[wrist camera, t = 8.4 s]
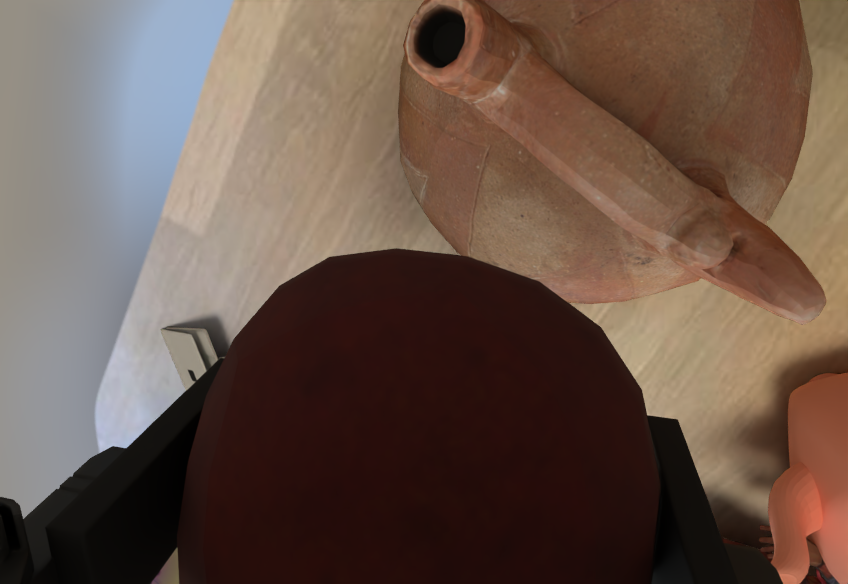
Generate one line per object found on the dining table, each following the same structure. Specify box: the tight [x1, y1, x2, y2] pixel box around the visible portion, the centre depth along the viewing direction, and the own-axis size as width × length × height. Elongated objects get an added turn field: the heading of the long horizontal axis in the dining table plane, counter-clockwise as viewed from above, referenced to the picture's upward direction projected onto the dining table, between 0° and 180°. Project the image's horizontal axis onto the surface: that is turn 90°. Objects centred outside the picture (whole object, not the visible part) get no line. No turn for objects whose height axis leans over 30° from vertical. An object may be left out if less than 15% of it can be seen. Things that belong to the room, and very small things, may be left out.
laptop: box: [161, 327, 218, 390], centre depth 46 cm, size 7×6×2 cm
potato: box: [177, 248, 661, 584], centre depth 14 cm, size 12×11×8 cm
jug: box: [398, 0, 826, 325], centre depth 27 cm, size 18×18×20 cm
